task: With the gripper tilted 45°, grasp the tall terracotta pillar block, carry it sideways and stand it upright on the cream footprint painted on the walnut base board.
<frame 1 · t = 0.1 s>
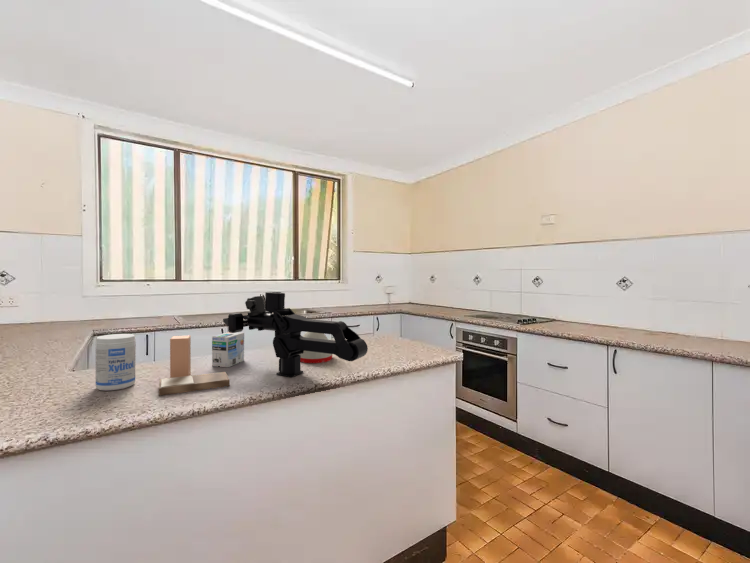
hand: (233, 318, 132), 17 cm above the countertop, tool horizontal, fingers open, 9 cm apart
light bulb box: (228, 364, 134), on the countertop
kitchen timer: (314, 359, 143), on the countertop
supplement tub: (116, 386, 107), on the countertop
pillar: (180, 378, 116), on the countertop
base board: (194, 386, 108), on the countertop
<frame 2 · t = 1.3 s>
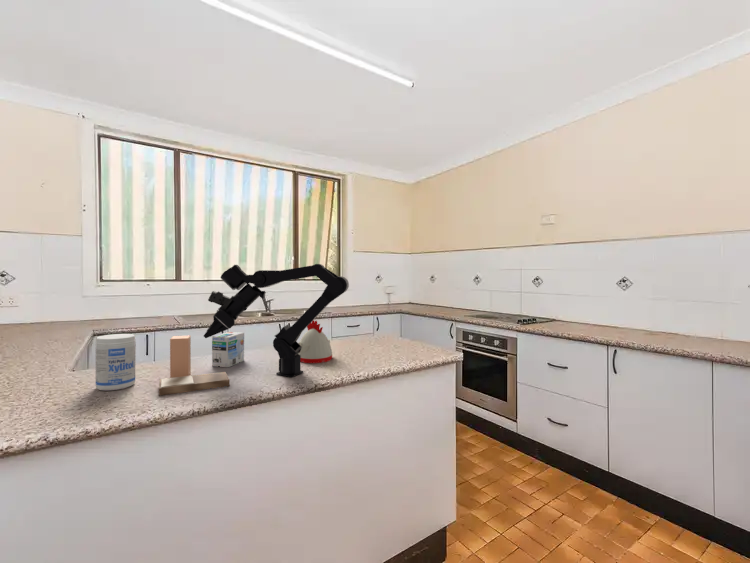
hand: (206, 334, 118), 13 cm above the countertop, tool tilted 45°, fingers open, 9 cm apart
nothing on the countertop moved.
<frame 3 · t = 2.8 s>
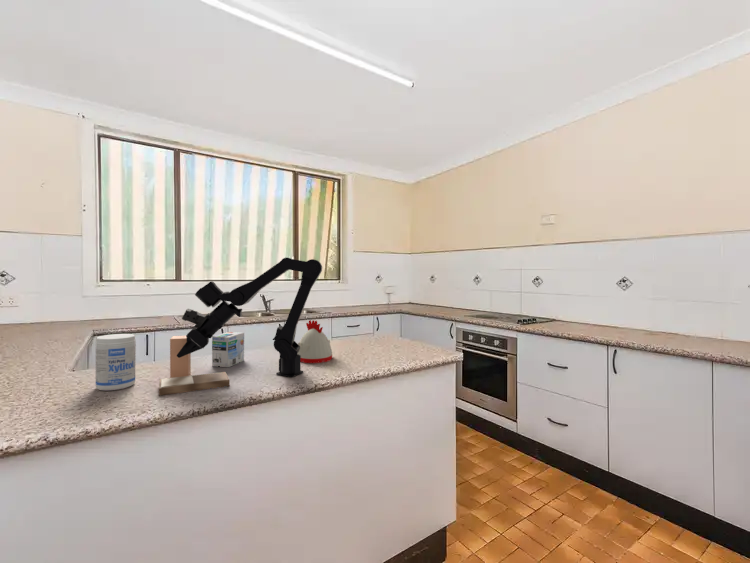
hand: (180, 353, 116), 8 cm above the countertop, tool tilted 45°, fingers open, 9 cm apart
nothing on the countertop moved.
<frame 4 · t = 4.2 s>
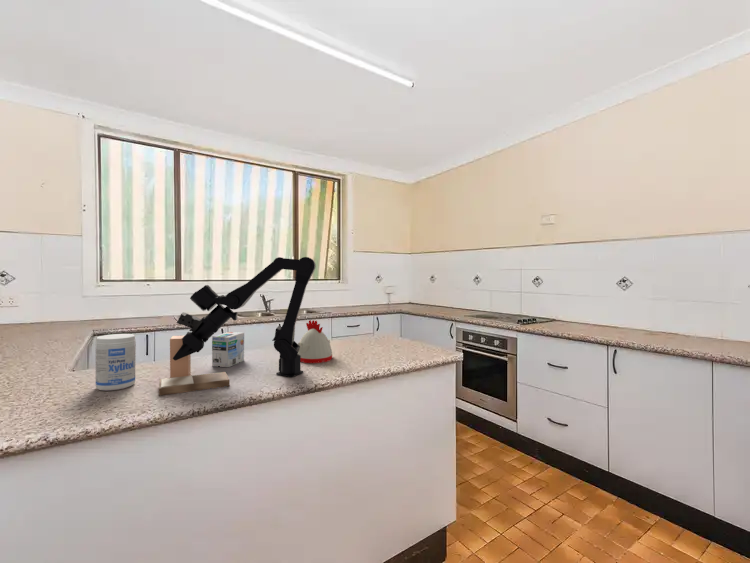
hand: (175, 357, 115), 7 cm above the countertop, tool tilted 45°, fingers closed on pillar, 5 cm apart
pillar: (180, 377, 116), on the countertop, touching gripper
everything else where it was.
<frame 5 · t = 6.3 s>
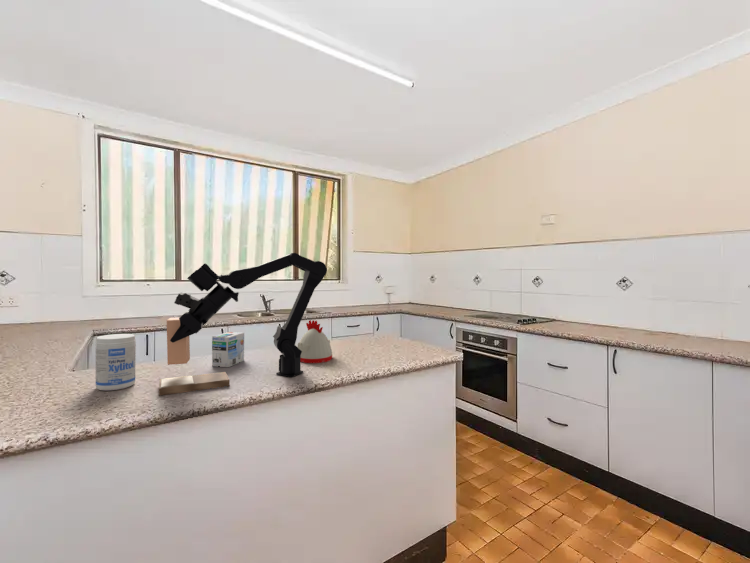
hand: (173, 339, 109), 13 cm above the countertop, tool tilted 45°, fingers closed on pillar, 5 cm apart
pillar: (179, 361, 110), point 7 cm above the countertop, touching gripper
everything else where it was.
when the fingers open (10 cm above the countertop, at t = 8.2 s): pillar drops 1 cm, resting on base board.
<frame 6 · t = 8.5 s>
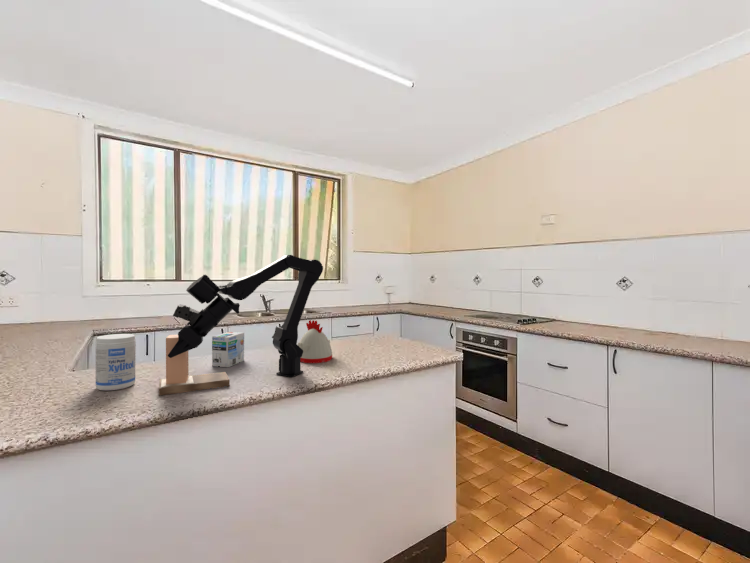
hand: (171, 353, 105), 10 cm above the countertop, tool tilted 45°, fingers open, 8 cm apart
pillar: (177, 380, 106), point 2 cm above the countertop, touching base board
everything else where it was.
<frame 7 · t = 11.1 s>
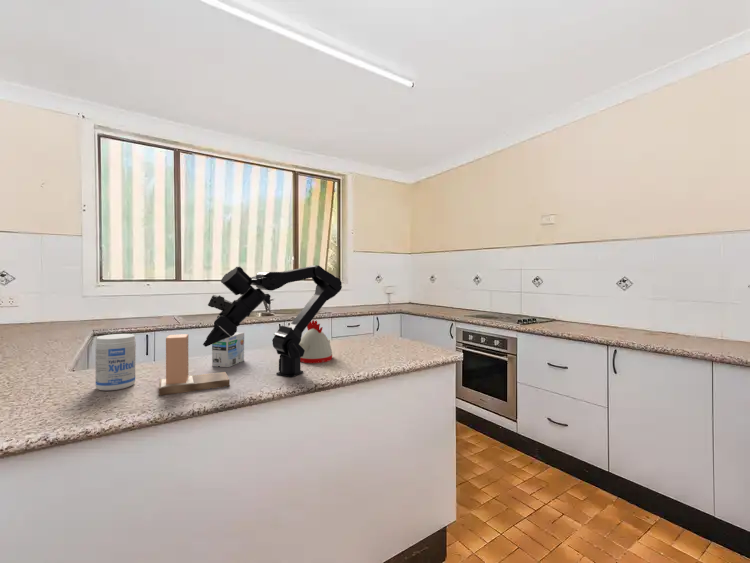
hand: (205, 342, 108), 13 cm above the countertop, tool tilted 45°, fingers open, 9 cm apart
nothing on the countertop moved.
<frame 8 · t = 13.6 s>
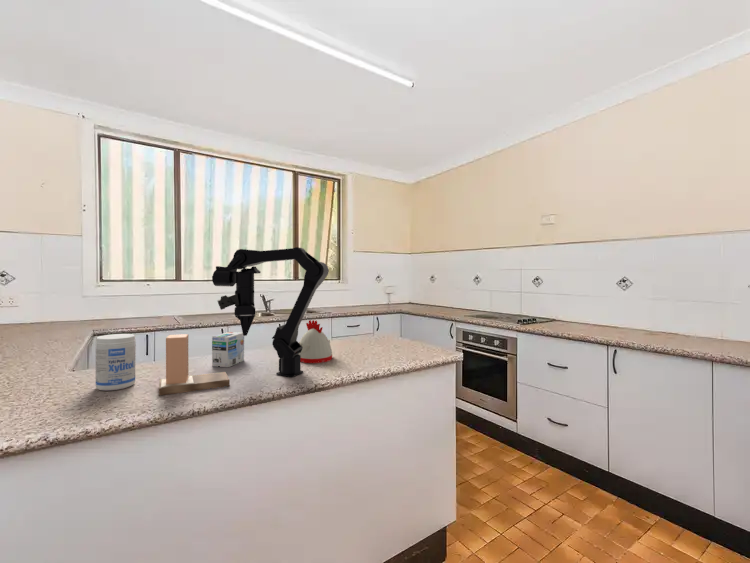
hand: (245, 333, 124), 13 cm above the countertop, tool pointing down, fingers open, 9 cm apart
nothing on the countertop moved.
at the end: pillar 0.1 cm from the target spot on the base board, point 2.2 cm above the base board's base; pillar tilted 0°; the gripper is holding nothing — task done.
